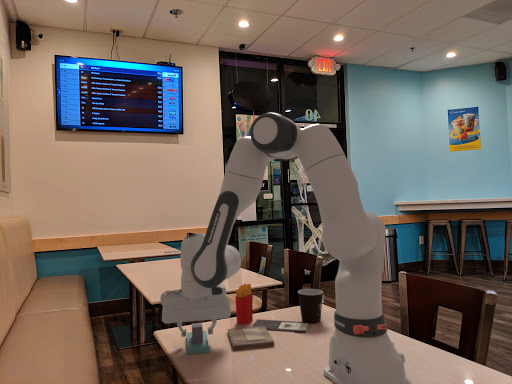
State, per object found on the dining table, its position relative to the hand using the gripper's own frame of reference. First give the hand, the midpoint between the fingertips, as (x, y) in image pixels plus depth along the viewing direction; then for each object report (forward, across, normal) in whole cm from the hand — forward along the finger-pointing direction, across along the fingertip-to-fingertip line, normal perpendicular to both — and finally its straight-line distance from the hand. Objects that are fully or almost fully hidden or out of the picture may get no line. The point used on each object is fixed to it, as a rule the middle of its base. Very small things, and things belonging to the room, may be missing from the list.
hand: (197, 335), depth 113 cm
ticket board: (+3, +16, 0) cm, 16 cm away
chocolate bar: (+4, +28, +9) cm, 29 cm away
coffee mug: (+3, +41, +13) cm, 43 cm away
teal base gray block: (+3, 0, 0) cm, 3 cm away
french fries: (+3, +17, +17) cm, 24 cm away
